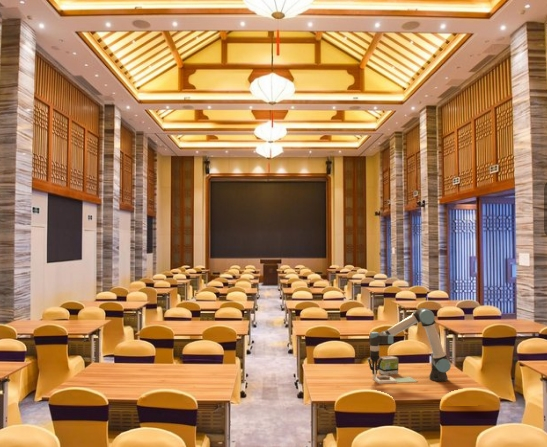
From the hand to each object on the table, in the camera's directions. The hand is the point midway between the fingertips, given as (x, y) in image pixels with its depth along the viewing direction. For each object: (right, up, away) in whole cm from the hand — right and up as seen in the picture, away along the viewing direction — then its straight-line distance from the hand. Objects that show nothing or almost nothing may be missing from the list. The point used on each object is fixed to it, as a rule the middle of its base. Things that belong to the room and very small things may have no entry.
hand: (374, 378), depth 414 cm
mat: (+26, -3, +4) cm, 27 cm away
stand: (+9, -3, +1) cm, 9 cm away
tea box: (+18, -4, +25) cm, 31 cm away
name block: (+8, -1, +1) cm, 8 cm away
